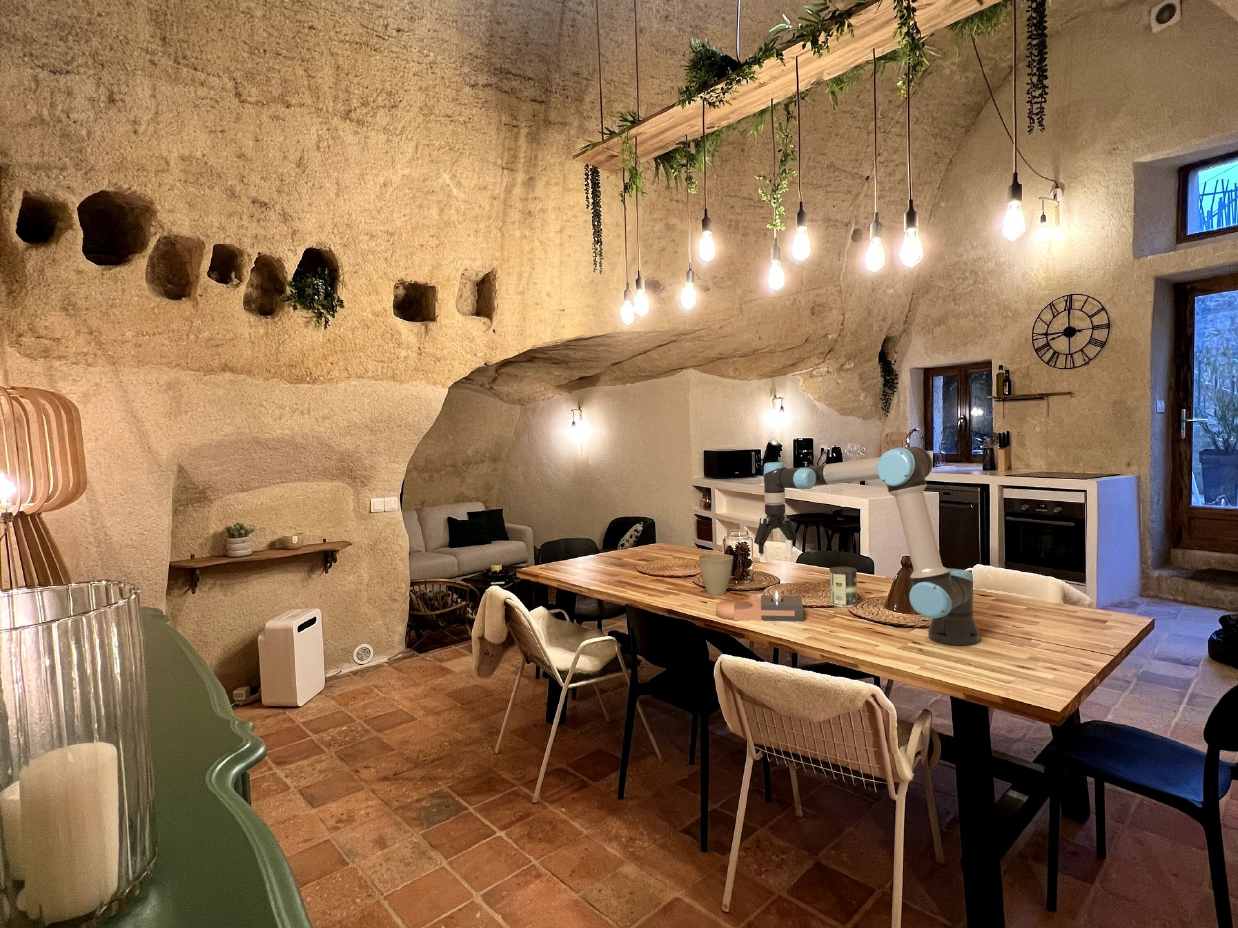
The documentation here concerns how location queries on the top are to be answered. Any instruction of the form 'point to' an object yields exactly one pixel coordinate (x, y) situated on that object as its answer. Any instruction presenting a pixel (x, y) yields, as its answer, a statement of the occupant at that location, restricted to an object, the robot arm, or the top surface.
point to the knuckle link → (746, 610)
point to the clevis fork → (783, 608)
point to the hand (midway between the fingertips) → (776, 559)
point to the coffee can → (843, 586)
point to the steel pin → (776, 595)
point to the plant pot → (716, 572)
